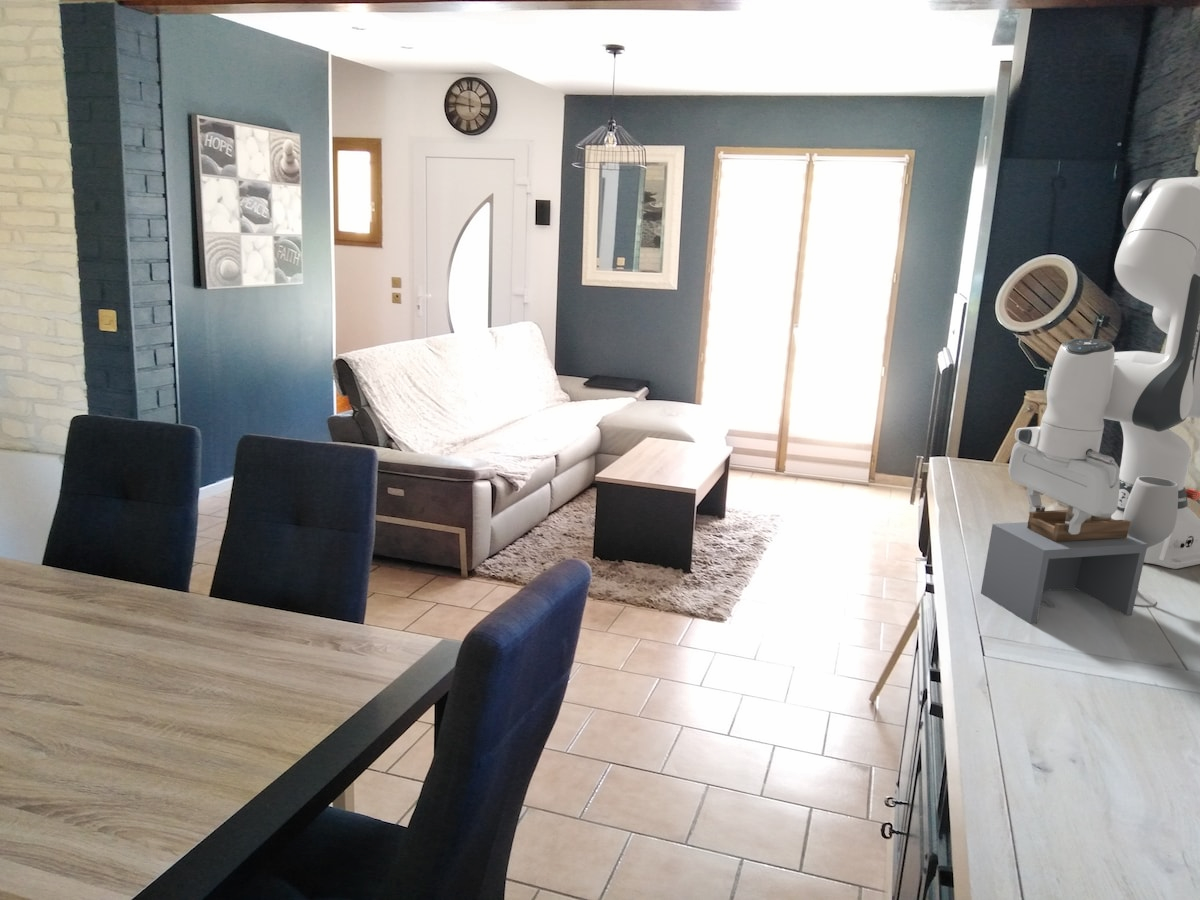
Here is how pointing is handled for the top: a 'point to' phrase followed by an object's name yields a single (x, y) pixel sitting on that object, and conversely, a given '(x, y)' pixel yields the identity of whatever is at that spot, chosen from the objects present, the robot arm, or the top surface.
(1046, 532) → the tray
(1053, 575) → the grey cover
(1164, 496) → the wineglass
